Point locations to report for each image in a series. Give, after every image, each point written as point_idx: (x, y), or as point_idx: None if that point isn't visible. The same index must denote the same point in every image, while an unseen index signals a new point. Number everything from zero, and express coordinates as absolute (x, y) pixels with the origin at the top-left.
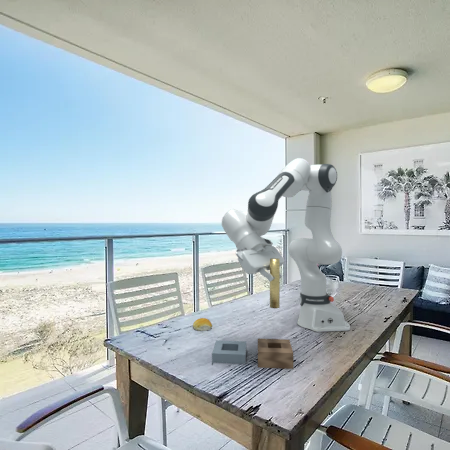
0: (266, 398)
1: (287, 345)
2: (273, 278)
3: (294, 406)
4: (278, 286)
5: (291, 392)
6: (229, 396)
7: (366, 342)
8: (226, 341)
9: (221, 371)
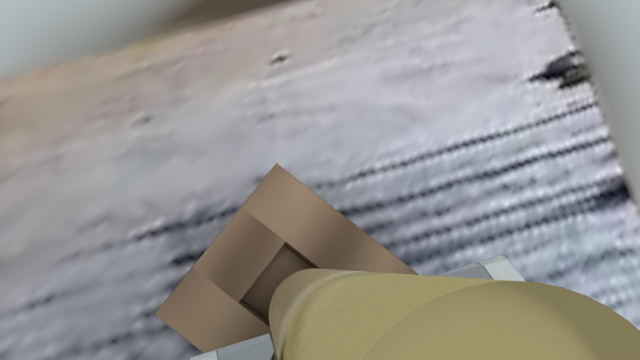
0: (493, 93)
1: (231, 252)
2: (475, 263)
3: (442, 7)
4: (335, 270)
5: (392, 71)
6: (598, 175)
7: None
8: None
9: None
